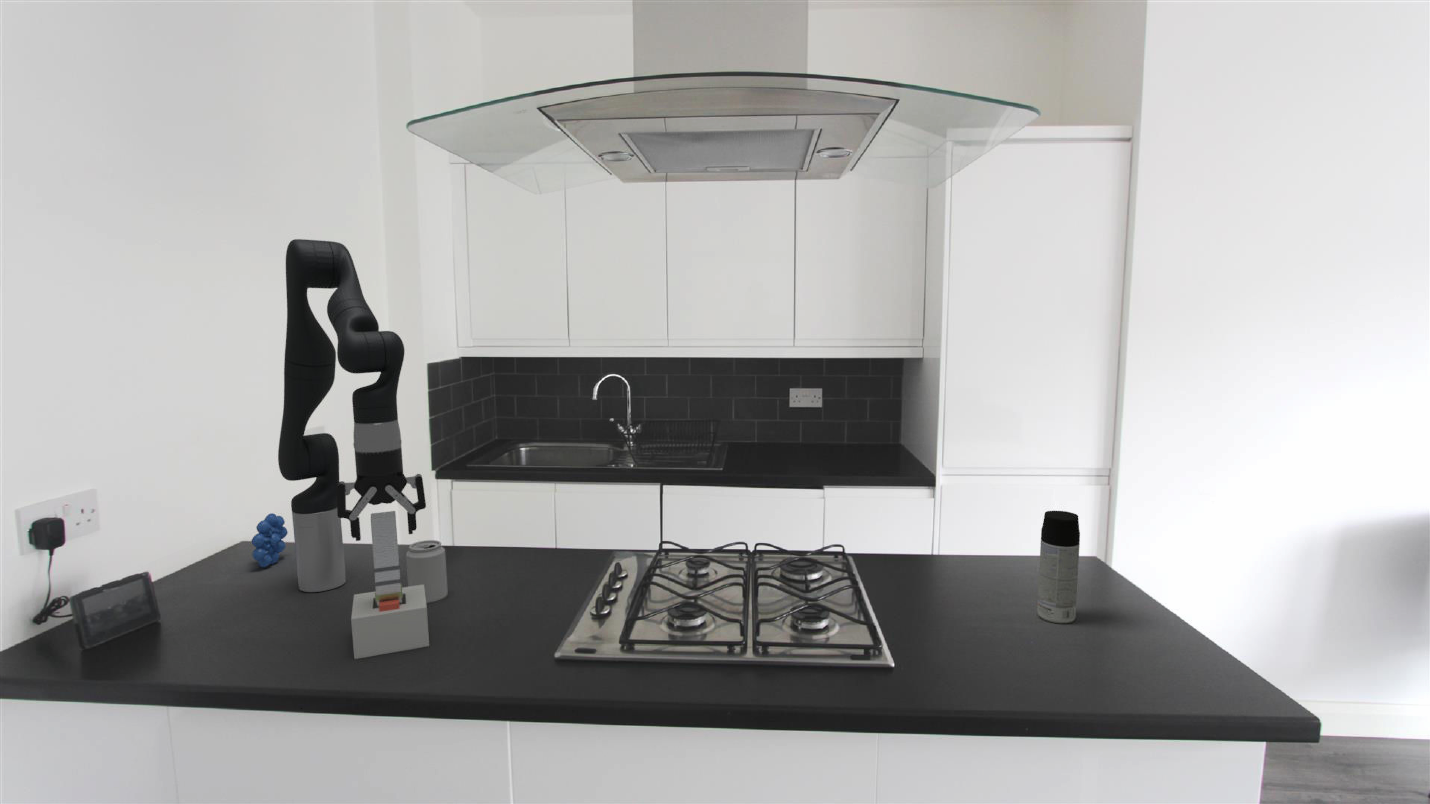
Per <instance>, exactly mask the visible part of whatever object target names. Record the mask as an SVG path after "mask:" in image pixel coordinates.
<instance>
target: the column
mask: <svg viewBox="0 0 1430 804" xmlns="http://www.w3.org/2000/svg"><path fill="white" fill-rule="evenodd" d="M396 519H397V516H396V510H391V511H383V512H375V513H373V512H372V513H370V531H371V532H370V533H371V544H372V557H373V562H372V563H373V564H372V571H373V572H372V573H374V580H373V581H374V583H373V585H374V587H375V588H374V589H375V591H374V592H375V601H377V608H378V607H379V602H386V601H392V600H399V604H402V597H403V596H402V588H403V584H402V571H401V558H400V557H399V543H398V532H397V530H398V529H397V520H396Z"/></svg>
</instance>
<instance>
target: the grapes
mask: <svg viewBox="0 0 1430 804" xmlns="http://www.w3.org/2000/svg"><path fill="white" fill-rule="evenodd" d="M285 523H286V521H285V519H284V517H283V516H281V515H276V514H275V513H268V515H266V516H265V518H264V519H263V520H261V521H259V522H258V523H257V525H256V531H257V532H258V533H256V534H255V535H253V537H252V538H251V543H252V546H254V547H255V549H254V550H253V551H252V553H251V554H252V555H251V556H252V558H253V560H254V561H257V564H258V565H259V566H260V568H267V566H269V565H274V564H276V563H277V562H278V560H279V559H280V555H279V554H280V553H282V552H283V551H284V550H285V548H286V547H287V546H286V543H285V541H284V539H285V538H286V536H287V535H288V533H289V531H288V530H287V528H286V527H285V526H284V525H285Z"/></svg>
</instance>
